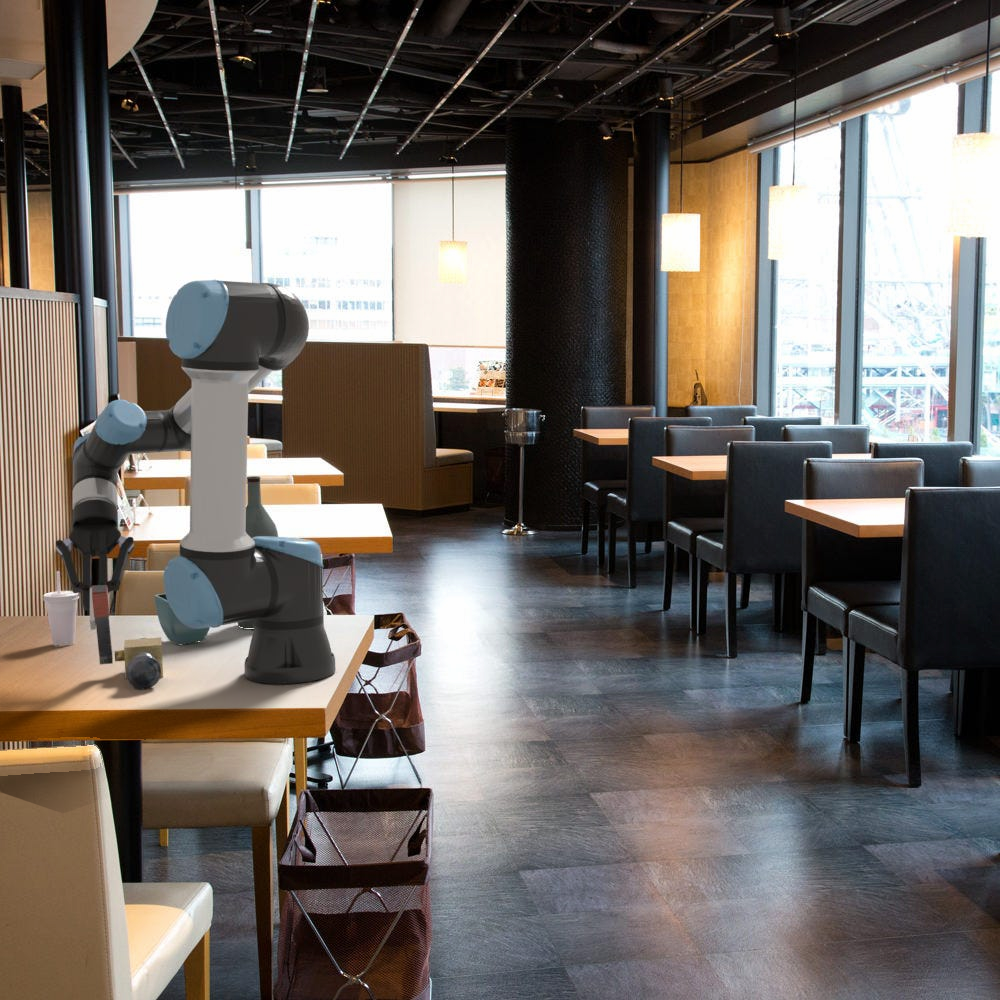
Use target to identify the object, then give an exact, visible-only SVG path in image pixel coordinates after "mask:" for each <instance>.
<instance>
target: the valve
mask: <svg viewBox="0 0 1000 1000" xmlns="http://www.w3.org/2000/svg"><path fill="white" fill-rule="evenodd" d="M162 645H163V643H162V637H150V638H149V637H148V638H147V637H142V638H136V639H135V638H134V639H124V645H123V649H122V650H121V649H120V650H119V649H118V650H114V661H115V662H124V671H125V672H124V676H125V677H124V678H125V681H127V682H128V683H129V685H131V686H132V687H133V688H135V689H138V690H147V689H150V688H152V687H154V686H156V684H157V683H158V682H159V680H160V678H164V668H163V649H162Z"/></svg>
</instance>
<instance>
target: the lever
mask: <svg viewBox="0 0 1000 1000" xmlns="http://www.w3.org/2000/svg"><path fill="white" fill-rule="evenodd" d="M91 588H92V601H93V610H94V618H95V620H96V629H95V630H96V637H97V646H98V648H97V649H98V657H99V658H98V659H99V665H110V664H113V662H114V661H113V659H114V658H113V649H112V648H113V647H112V636H111V627H110V626H111V625H110V604H109V602H110V601H109V594H108V589H107V585H100V584H98V585H97V584H96V585H91Z"/></svg>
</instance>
